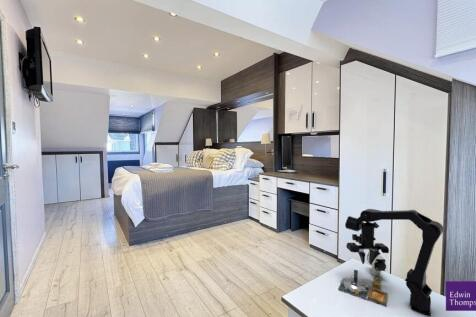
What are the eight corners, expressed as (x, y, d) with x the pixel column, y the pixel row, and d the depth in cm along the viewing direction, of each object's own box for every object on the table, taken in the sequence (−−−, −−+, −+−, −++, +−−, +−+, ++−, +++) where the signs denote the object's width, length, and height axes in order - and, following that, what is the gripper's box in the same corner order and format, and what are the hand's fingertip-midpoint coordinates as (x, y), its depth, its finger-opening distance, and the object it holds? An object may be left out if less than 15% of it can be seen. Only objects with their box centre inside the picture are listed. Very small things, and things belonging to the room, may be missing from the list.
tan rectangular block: (381, 286, 114) (381, 279, 114) (380, 291, 110) (380, 283, 110) (373, 284, 116) (373, 276, 116) (372, 288, 112) (372, 281, 112)
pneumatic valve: (374, 269, 130) (375, 249, 130) (386, 281, 119) (387, 259, 118) (364, 268, 131) (365, 248, 130) (375, 280, 119) (376, 258, 119)
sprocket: (369, 285, 113) (369, 272, 113) (366, 297, 104) (366, 284, 103) (343, 276, 121) (344, 265, 120) (338, 287, 111) (338, 275, 111)
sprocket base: (369, 287, 113) (369, 285, 113) (365, 299, 104) (365, 298, 104) (343, 278, 121) (343, 277, 121) (338, 289, 111) (338, 288, 111)
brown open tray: (387, 296, 107) (387, 292, 107) (386, 306, 99) (386, 303, 99) (369, 290, 111) (369, 286, 111) (367, 299, 104) (367, 296, 104)
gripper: (377, 228, 122) (376, 256, 123) (342, 228, 123) (341, 255, 123) (390, 236, 111) (389, 267, 111) (351, 236, 111) (350, 266, 112)
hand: (366, 263), depth 115 cm, fingers open, 3 cm apart
